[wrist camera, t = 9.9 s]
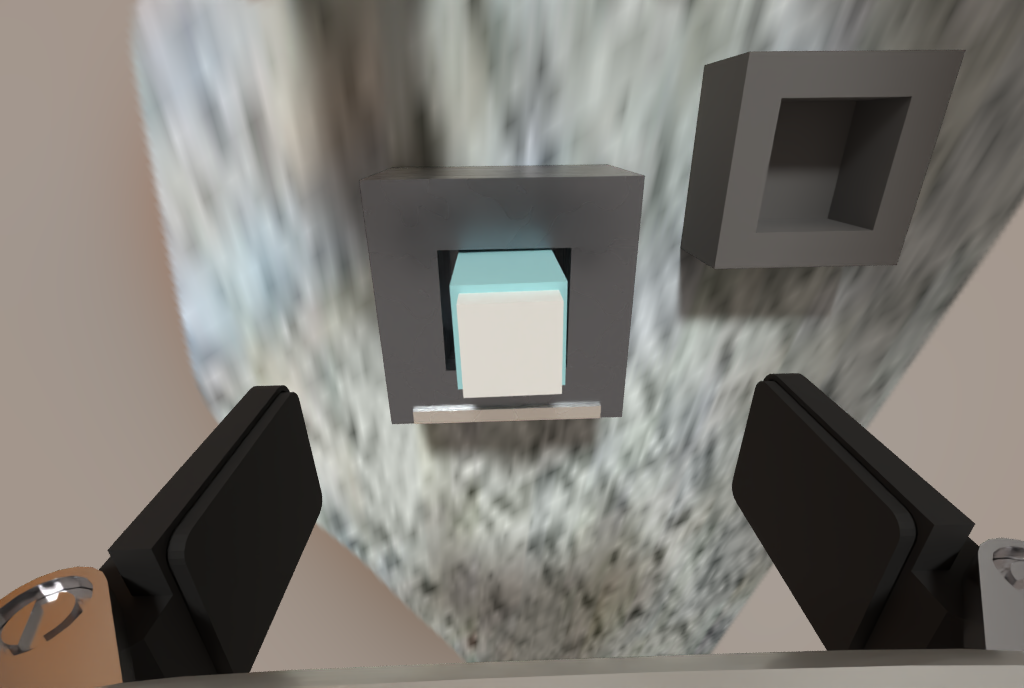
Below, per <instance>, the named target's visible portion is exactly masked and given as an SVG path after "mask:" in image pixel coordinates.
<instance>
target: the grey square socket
mask: <svg viewBox="0 0 1024 688" xmlns="http://www.w3.org/2000/svg"><path fill="white" fill-rule="evenodd" d="M964 53H965V50H895V51H772V52H747V53H744V54H741V55H737V56H734V57H731V58H727V59H724V60H721V61H717V62H714V63H711V64H707V65H705V68H704V75H703V83H702V90H701V98H700V106H699V113H698V121H697V128H696V136H695V144H694V151H693V159H692V166H691V174H690V181H689V189H688V197H687V204H686V212H685V219H684V227H683V235H682V242H681V248H682V249H683V250H685V251H687V252H688V253H690V254H691V255H693V256H695V257H696V258H698V259H699V260H701V261H703V262H704V263H706V264H707V265H709V266H711V267H712V268H714V269H731V268H776V267H820V266H865V265H897V262H898V259H899V256H900V253H901V250H902V247H903V243H904V240H905V237H906V234H907V231H908V228H909V225H910V222H911V219H912V215H913V212H914V209H915V206H916V203H917V200H918V197H919V194H920V190H921V187H922V184H923V181H924V178H925V175H926V172H927V169H928V165H929V162H930V159H931V156H932V153H933V150H934V147H935V144H936V141H937V137H938V134H939V131H940V128H941V125H942V122H943V119H944V116H945V112H946V109H947V106H948V103H949V100H950V97H951V94H952V91H953V87H954V84H955V81H956V78H957V75H958V72H959V69H960V66H961V62H962V59H963V56H964Z"/></svg>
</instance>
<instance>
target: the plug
mask: <svg viewBox="0 0 1024 688" xmlns="http://www.w3.org/2000/svg"><path fill="white" fill-rule="evenodd" d="M567 284H568V281H567V279H566V277H565V275H564V273H563V271H562V269H561V267H560V265H559V263H558V261H557V259H556V258H555V256H554V254H553V252H552V250H551V248H525V249H477V250H459V252H458V256H457V260H456V264H455V267H454V271H453V275H452V278H451V282H450V298H451V310H452V322H453V334H454V347H455V359H456V371H457V383H458V389H463V397H464V398H476V397H500V396H524V395H548V394H562V385H565V373H566V328H567Z"/></svg>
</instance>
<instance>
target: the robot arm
mask: <svg viewBox="0 0 1024 688" xmlns="http://www.w3.org/2000/svg"><path fill="white" fill-rule="evenodd" d="M732 491H733V496H734V499H735V501H736V503H737V504H738V506H739V507H740V509H741V511H742V512H743V514H744V516H745V517H746V519H747V520H748V522H749V524H750V525H751V527H752V529H753V530H754V532H755V534H756V535H757V537H758V538H759V540H760V542H761V543H762V545H763V547H764V548H765V550H766V552H767V553H768V555H769V556H770V558H771V560H772V561H773V563H774V565H775V566H776V568H777V569H778V571H779V573H780V574H781V576H782V578H783V579H784V581H785V582H786V584H787V586H788V587H789V589H790V591H791V592H792V594H793V596H794V597H795V599H796V601H797V602H798V604H799V605H800V607H801V609H802V610H803V612H804V613H805V615H806V617H807V618H808V620H809V622H810V623H811V625H812V626H813V628H814V630H815V632H816V633H817V635H818V636H819V638H820V640H821V641H822V643H823V645H824V646H825V648H826V649H827V651H804V652H770V653H737V654H703V655H671V656H642V657H613V658H584V659H557V660H529V661H502V662H475V663H451V664H426V665H403V666H378V667H353V668H330V669H305V670H287V671H286V670H285V671H268V672H253V673H249V672H250V670H251V668H252V666H253V663H254V661H255V659H256V657H257V655H258V652H259V650H260V648H261V645H262V643H263V641H264V638H265V636H266V634H267V631H268V630H269V627H270V625H271V623H272V620H273V618H274V616H275V614H276V611H277V609H278V607H279V604H280V602H281V600H282V598H283V595H284V593H285V591H286V589H287V586H288V584H289V582H290V580H291V577H292V575H293V572H294V571H295V568H296V566H297V564H298V562H299V559H300V557H301V554H302V552H303V550H304V548H305V546H306V543H307V541H308V539H309V537H310V534H311V532H312V529H313V527H314V525H315V523H316V521H317V518H318V516H319V514H320V511H321V507H322V493H321V489H320V484H319V480H318V476H317V472H316V468H315V464H314V459H313V455H312V451H311V447H310V443H309V439H308V434H307V430H306V426H305V422H304V418H303V414H302V409H301V405H300V401H299V398H298V395H297V394H296V393H294V392H290V391H289V389H288V388H287V387H286V386H284V385H281V386H254V387H253V388H251V389H250V390H249V391H248V392H247V394H246V395H245V396H244V397H243V398H242V399H241V400H240V401H239V403H238V404H237V405H236V406H235V407H234V408H233V409H232V410H231V412H230V413H229V414H228V415H227V416H226V417H225V418H224V419H223V421H222V422H221V423H220V424H219V425H218V426H217V427H216V428H215V430H214V431H213V432H212V433H211V434H210V435H209V436H208V438H207V439H206V440H205V441H204V442H203V443H202V444H201V445H200V447H199V448H198V449H197V450H196V451H195V452H194V453H193V454H192V456H191V457H190V458H189V459H188V460H187V461H186V462H185V464H184V465H183V466H182V467H181V468H180V469H179V470H178V471H177V472H176V474H175V475H174V476H173V477H172V478H171V479H170V480H169V481H168V483H167V484H166V485H165V486H164V487H163V488H162V489H161V490H160V492H159V493H158V494H157V495H156V496H155V497H154V498H153V500H152V501H151V502H150V503H149V504H148V505H147V506H146V507H145V508H144V510H143V511H142V512H141V513H140V514H139V515H138V516H137V517H136V519H135V520H134V521H133V522H132V523H131V524H130V525H129V527H128V528H127V529H126V530H125V531H124V532H123V533H122V534H121V536H120V537H119V538H118V539H117V540H116V541H115V542H114V543H113V545H112V546H111V547H110V548H109V549H108V552H109V554H110V558H109V559H108V560H107V561H106V562H105V563H104V565H103V566H102V567H101V568H100V569H99V570H97V569H95V568H93V567H73V568H67V569H62V570H57V571H55V572H52V573H49V574H46V575H44V576H41V577H38V578H36V579H34V580H32V581H30V582H28V583H26V584H24V585H22V586H21V587H19V588H17V589H15V590H14V591H12V592H11V593H9V594H8V595H6V596H5V597H3V598H2V599H0V688H1024V541H1021V540H1014V539H1007V538H996V539H988V540H987V541H985V542H984V543H982V544H980V546H978V545H977V544H976V543H975V542H974V541H972V540H971V539H970V538H969V537H968V536H969V534H970V532H971V530H972V528H973V527H974V525H975V523H974V522H972V521H971V520H970V519H969V518H968V517H967V516H966V515H964V514H963V513H962V512H961V511H960V510H959V509H957V508H956V507H955V506H954V505H953V504H952V503H950V502H949V501H948V500H947V499H946V498H944V496H942V495H941V494H940V493H939V492H938V491H937V490H935V489H934V488H933V487H932V486H931V485H930V484H928V483H927V482H926V481H925V480H923V478H921V477H920V476H919V475H918V474H917V473H916V472H915V471H913V470H912V469H911V468H909V466H908V465H906V464H905V463H904V462H903V461H902V460H901V459H899V458H898V457H897V456H896V455H895V454H894V453H892V452H891V451H890V450H889V449H888V448H887V447H886V446H884V445H883V444H882V443H881V442H880V441H878V440H877V439H876V438H875V437H874V436H873V435H871V434H870V433H869V432H868V431H867V430H866V429H865V428H864V427H862V426H861V425H860V424H859V423H858V422H857V421H855V420H854V419H853V418H852V417H851V416H850V415H848V414H847V413H846V412H845V411H844V410H843V409H842V408H840V407H839V406H838V405H837V404H836V403H835V402H833V401H832V400H831V399H830V398H829V397H828V396H826V395H825V394H824V393H823V392H822V391H821V390H819V389H818V388H817V387H816V386H815V385H814V384H813V383H811V382H810V381H809V380H808V379H807V378H806V377H804V376H803V375H801V374H798V373H790V374H769V375H767V376H766V377H765V379H764V381H760V382H758V384H757V385H756V388H755V391H754V395H753V400H752V404H751V408H750V412H749V416H748V420H747V424H746V428H745V432H744V436H743V440H742V445H741V449H740V453H739V457H738V461H737V465H736V469H735V473H734V477H733V482H732Z"/></svg>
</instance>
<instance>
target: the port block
mask: <svg viewBox="0 0 1024 688" xmlns="http://www.w3.org/2000/svg"><path fill="white" fill-rule="evenodd" d="M644 178H645V176H644V175H641V174H637V173H634V172H631V171H627V170H624V169H621V168H617V167H614V166H611V165H607V164H606V165H541V166H476V167H411V168H390V169H387V170H385V171H382V172H379V173H377V174H374V175H372V176H369V177H366V178H364V179H361V180H359V184H360V191H361V198H362V206H363V213H364V221H365V228H366V236H367V243H368V250H369V258H370V265H371V273H372V280H373V288H374V295H375V302H376V310H377V317H378V325H379V332H380V340H381V347H382V354H383V362H384V369H385V377H386V384H387V392H388V399H389V407H390V414H391V421H392V424H408V423H414V424H427V423H459V422H491V421H522V420H554V419H585V418H600V417H622V409H623V398H624V388H625V377H626V367H627V356H628V346H629V335H630V325H631V314H632V304H633V293H634V283H635V272H636V262H637V251H638V241H639V230H640V220H641V210H642V199H643V189H644ZM525 248H551V250H552V252H553V254H554V256H555V258H556V259H557V261H558V263H559V265H560V267H561V269H562V271H563V273H564V275H565V277H566V279H567V281H568V284H567V328H566V373H565V385H562V394H548V395H524V396H500V397H476V398H464V397H463V389H458V383H457V371H456V359H455V347H454V334H453V322H452V310H451V298H450V282H451V278H452V275H453V271H454V267H455V264H456V260H457V256H458V252H459V250H477V249H525Z"/></svg>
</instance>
